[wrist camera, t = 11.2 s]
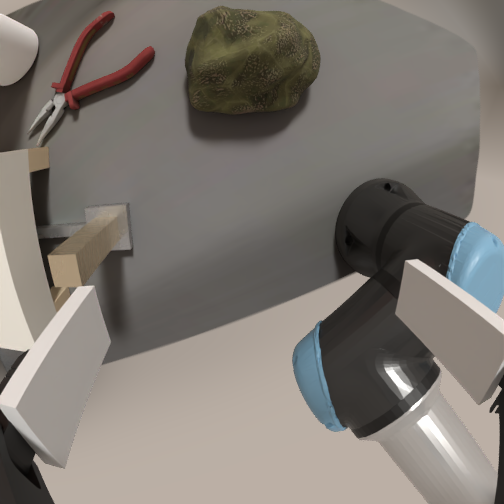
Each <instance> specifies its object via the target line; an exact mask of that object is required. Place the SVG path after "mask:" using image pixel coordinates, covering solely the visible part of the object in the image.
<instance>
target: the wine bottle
mask: <svg viewBox="0 0 504 504" xmlns="http://www.w3.org/2000/svg"><path fill="white" fill-rule="evenodd" d="M38 43H39V42H38V37H37V35H36V33H35V32H34V31H33V30H32V29H30V28H28V27H26V26H24V25H22V24H21V23H19V22H17V21H15V20H13V19H11V18H9V17H7V16H5V15H3V14H1V13H0V86H7V85H10V84H13V83H15V82H17V81H18V80H19V79H21V78H22V77H23V76H24V75H25V74H26V73H27V71H28V70H29V69H30V67H31V66H32V64H33V62H34V60H35V58H36V55H37V52H38Z"/></svg>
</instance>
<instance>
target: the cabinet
mask: <svg viewBox="0 0 504 504" xmlns="http://www.w3.org/2000/svg"><path fill="white" fill-rule="evenodd" d="M46 168H49V148H48V147H40V148H31V149H23V150H15V151H8V152H1V153H0V347H1V348H6V349H12V350H19V351H27V350H28V349H31V347H32V346H33V345H34V343H35V342H36V340H37V339H38V338H39V336H40V335H41V334H42V332H43V331H44V330H45V328H46V327H47V326H48V324H49V323H50V322H51V320H52V319H53V318H54V316H55V315H56V314H57V312H58V311H59V310H60V309H61V307H62V306H63V305H64V304H65V302H66V301H67V300H68V299H69V297H70V296H71V295H70V292H69V288H68V287H55V286H52V287H51V289H49V285H48V281H47V277H46V273H45V269H44V265H43V261H42V256H41V251H40V247H39V242H38V236H37V231H36V225H35V218H34V212H33V204H32V196H31V187H30V175H29V173H30V172H33V171H37V170H42V169H46Z"/></svg>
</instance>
